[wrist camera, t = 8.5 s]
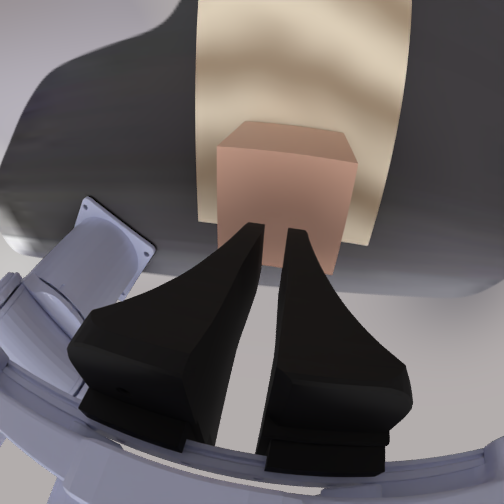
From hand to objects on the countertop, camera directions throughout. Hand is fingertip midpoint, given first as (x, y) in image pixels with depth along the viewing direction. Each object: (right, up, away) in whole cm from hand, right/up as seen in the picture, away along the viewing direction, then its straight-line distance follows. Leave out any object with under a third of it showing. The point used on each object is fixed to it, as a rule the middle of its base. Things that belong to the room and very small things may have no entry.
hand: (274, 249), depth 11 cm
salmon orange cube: (+1, +5, +6) cm, 8 cm away
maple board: (+2, +10, +4) cm, 11 cm away
